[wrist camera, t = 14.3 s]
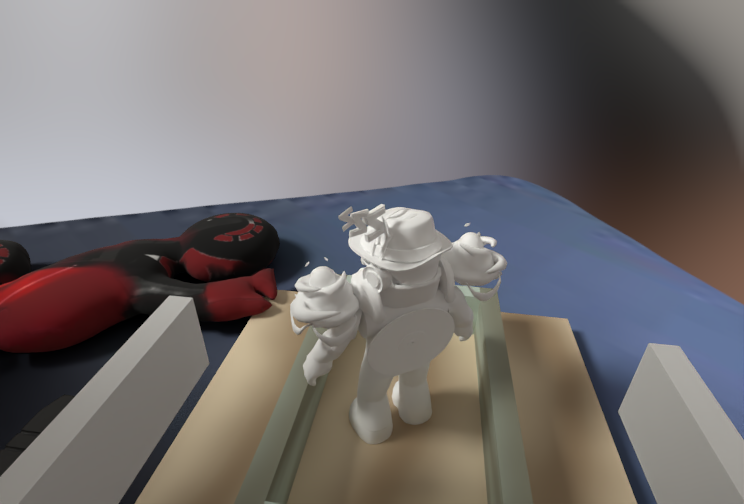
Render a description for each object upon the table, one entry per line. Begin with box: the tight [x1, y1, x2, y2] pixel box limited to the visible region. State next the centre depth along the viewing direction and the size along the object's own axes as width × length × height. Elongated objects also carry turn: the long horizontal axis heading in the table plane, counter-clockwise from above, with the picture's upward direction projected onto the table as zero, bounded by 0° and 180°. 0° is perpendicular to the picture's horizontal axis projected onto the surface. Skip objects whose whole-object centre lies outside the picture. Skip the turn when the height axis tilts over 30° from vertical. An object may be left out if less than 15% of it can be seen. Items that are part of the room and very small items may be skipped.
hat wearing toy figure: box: [290, 204, 507, 444], centre depth 18 cm, size 9×4×12 cm, turn 114°
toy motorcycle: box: [0, 213, 280, 353], centre depth 29 cm, size 25×5×16 cm
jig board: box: [135, 274, 637, 504], centre depth 20 cm, size 20×18×4 cm
